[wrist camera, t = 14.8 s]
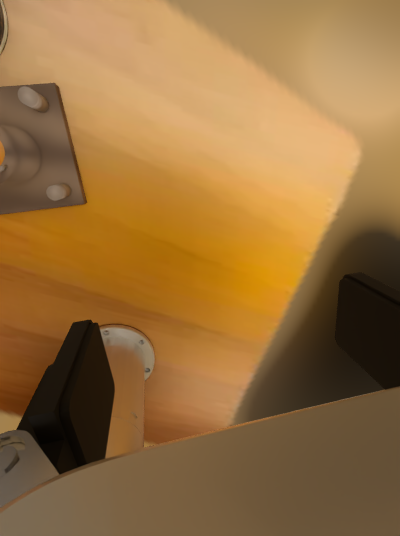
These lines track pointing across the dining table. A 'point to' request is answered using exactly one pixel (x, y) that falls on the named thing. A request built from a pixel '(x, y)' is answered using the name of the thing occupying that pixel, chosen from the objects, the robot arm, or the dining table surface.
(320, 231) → the dining table surface
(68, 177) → the peg stand
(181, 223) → the dining table surface
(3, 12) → the coffee can
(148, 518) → the robot arm
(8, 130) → the beer glass
